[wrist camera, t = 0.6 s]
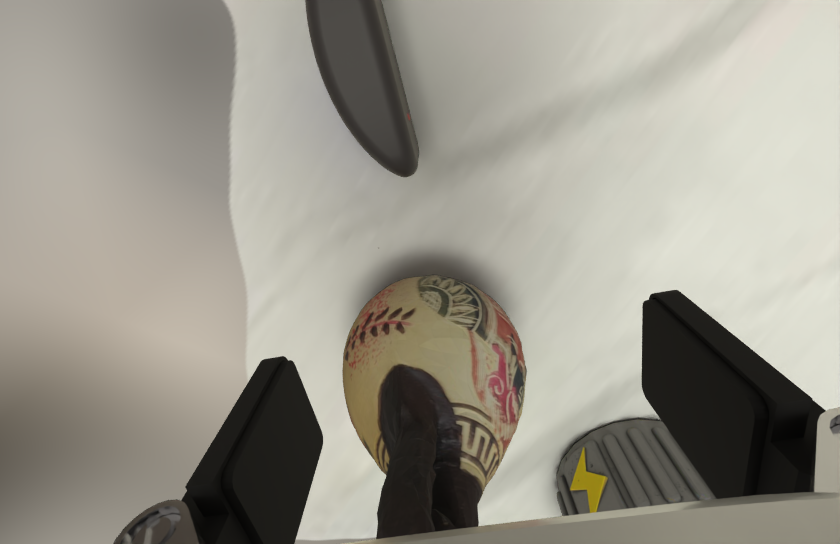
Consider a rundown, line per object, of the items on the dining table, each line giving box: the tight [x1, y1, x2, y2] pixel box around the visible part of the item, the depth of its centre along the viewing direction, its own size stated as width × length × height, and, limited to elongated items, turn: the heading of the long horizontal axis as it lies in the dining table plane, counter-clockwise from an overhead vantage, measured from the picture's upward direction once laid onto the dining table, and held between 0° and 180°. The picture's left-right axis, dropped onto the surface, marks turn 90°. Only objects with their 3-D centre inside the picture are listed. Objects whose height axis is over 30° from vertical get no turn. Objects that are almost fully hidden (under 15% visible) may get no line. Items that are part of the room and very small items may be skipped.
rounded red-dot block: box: [305, 0, 419, 177], centre depth 29 cm, size 16×5×9 cm, turn 15°
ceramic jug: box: [343, 275, 527, 539], centre depth 29 cm, size 17×15×30 cm
